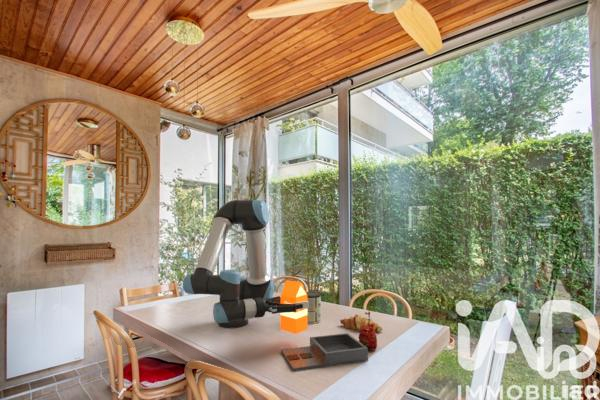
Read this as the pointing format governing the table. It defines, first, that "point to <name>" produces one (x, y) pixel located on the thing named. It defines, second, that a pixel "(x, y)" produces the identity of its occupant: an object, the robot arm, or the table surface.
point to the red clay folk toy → (368, 336)
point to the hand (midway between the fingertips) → (302, 301)
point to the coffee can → (314, 307)
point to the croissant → (359, 323)
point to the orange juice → (297, 320)
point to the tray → (326, 352)
